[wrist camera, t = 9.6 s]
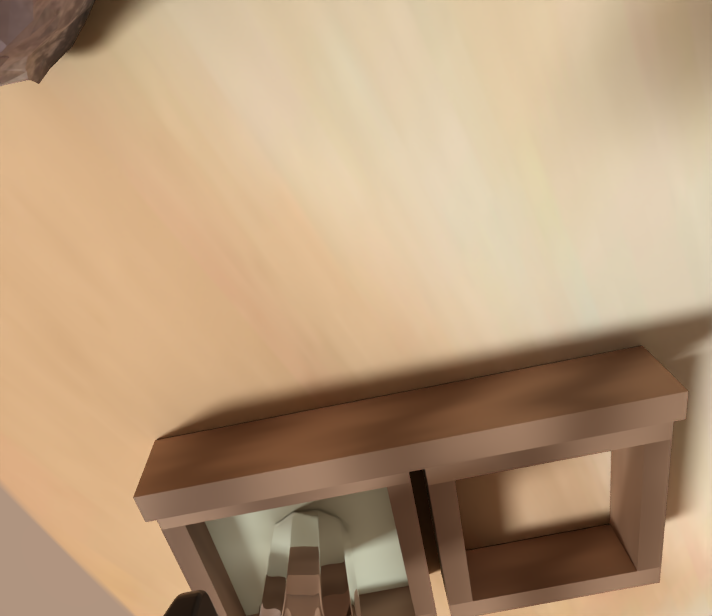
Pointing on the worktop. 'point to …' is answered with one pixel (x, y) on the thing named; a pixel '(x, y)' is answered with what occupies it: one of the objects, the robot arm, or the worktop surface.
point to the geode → (37, 35)
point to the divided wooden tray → (428, 486)
